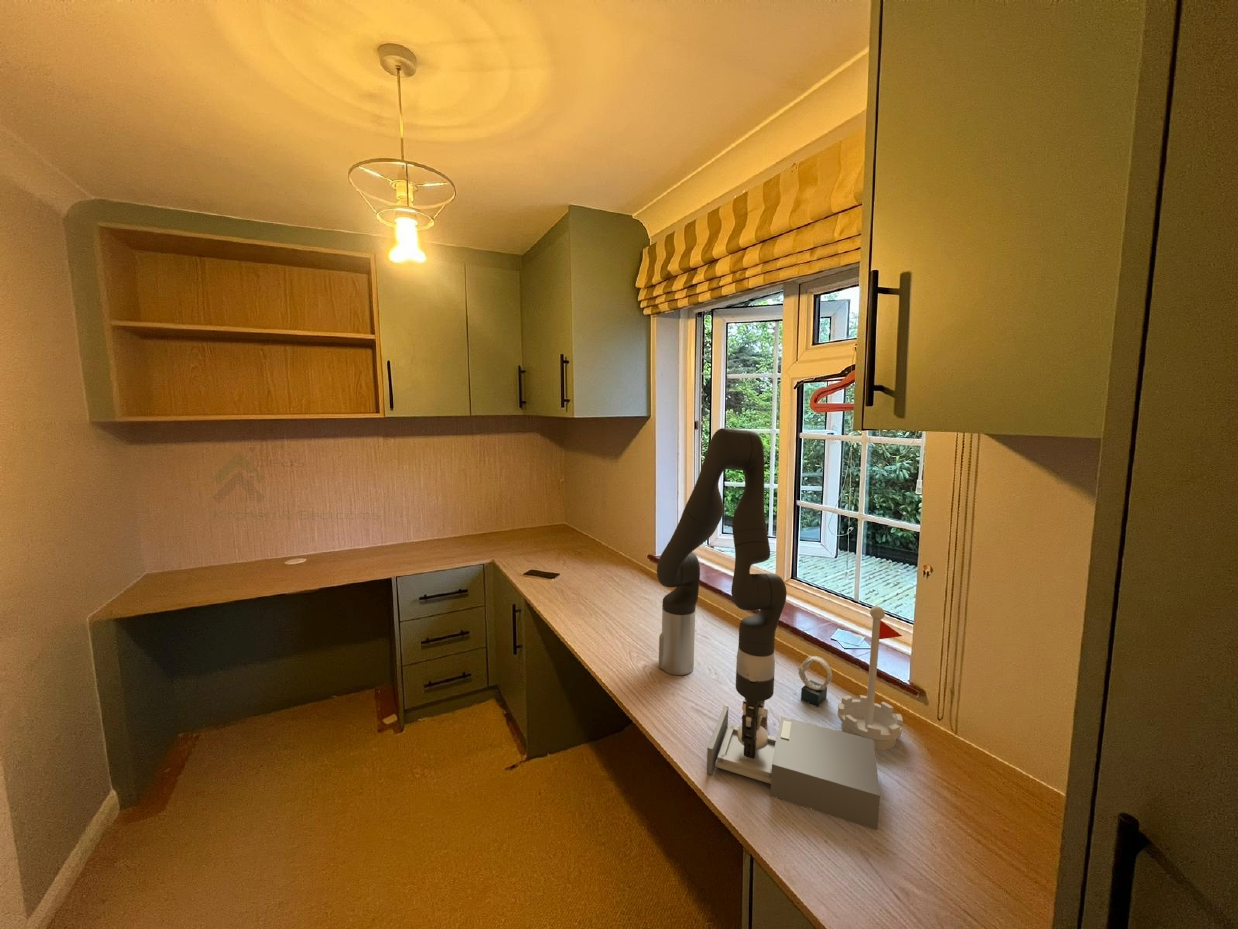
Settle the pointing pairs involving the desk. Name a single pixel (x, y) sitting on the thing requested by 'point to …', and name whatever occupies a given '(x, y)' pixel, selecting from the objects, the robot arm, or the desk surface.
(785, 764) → the housing
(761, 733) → the beige knobbed lid
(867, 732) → the flag stand
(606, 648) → the desk surface
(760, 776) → the tray
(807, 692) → the watch
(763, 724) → the brown block
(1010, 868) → the desk surface
